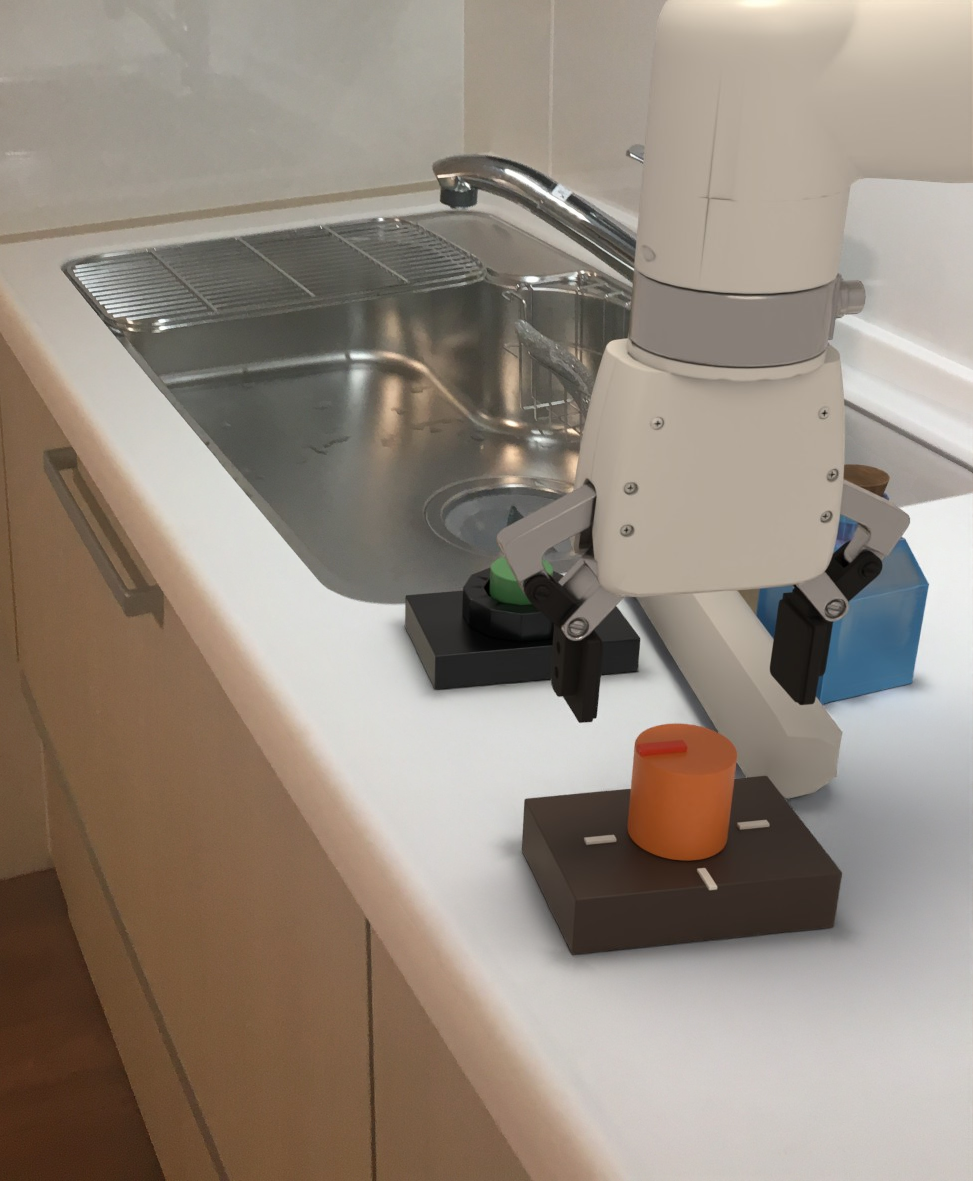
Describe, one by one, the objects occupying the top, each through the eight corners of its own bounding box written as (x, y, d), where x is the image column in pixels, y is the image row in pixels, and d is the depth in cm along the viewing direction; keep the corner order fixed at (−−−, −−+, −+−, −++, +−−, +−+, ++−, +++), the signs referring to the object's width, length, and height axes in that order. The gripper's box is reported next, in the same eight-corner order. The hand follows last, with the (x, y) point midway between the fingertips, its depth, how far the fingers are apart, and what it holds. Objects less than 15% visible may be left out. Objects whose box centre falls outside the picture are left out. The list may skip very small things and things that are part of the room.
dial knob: (705, 801, 76) (715, 713, 74) (742, 855, 72) (754, 764, 70) (614, 810, 75) (621, 722, 73) (646, 865, 71) (655, 773, 69)
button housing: (594, 610, 100) (598, 552, 99) (638, 671, 93) (643, 610, 92) (404, 626, 99) (405, 568, 98) (434, 689, 92) (436, 627, 91)
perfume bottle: (751, 655, 94) (774, 464, 89) (839, 636, 96) (867, 447, 91) (819, 704, 89) (848, 504, 84) (911, 683, 91) (946, 486, 86)
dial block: (758, 823, 79) (765, 768, 78) (837, 931, 72) (846, 873, 70) (519, 846, 78) (522, 791, 77) (574, 959, 71) (578, 900, 69)
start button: (541, 578, 97) (542, 552, 96) (559, 605, 93) (561, 578, 93) (482, 583, 96) (483, 557, 95) (498, 610, 93) (499, 583, 92)
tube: (880, 740, 78) (716, 528, 101) (780, 715, 77) (637, 507, 100) (831, 828, 80) (681, 602, 103) (734, 806, 80) (604, 582, 102)
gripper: (893, 280, 67) (835, 644, 75) (486, 302, 66) (468, 672, 73) (991, 331, 60) (916, 726, 68) (540, 358, 59) (514, 759, 66)
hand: (684, 698), depth 70 cm, fingers open, 9 cm apart
